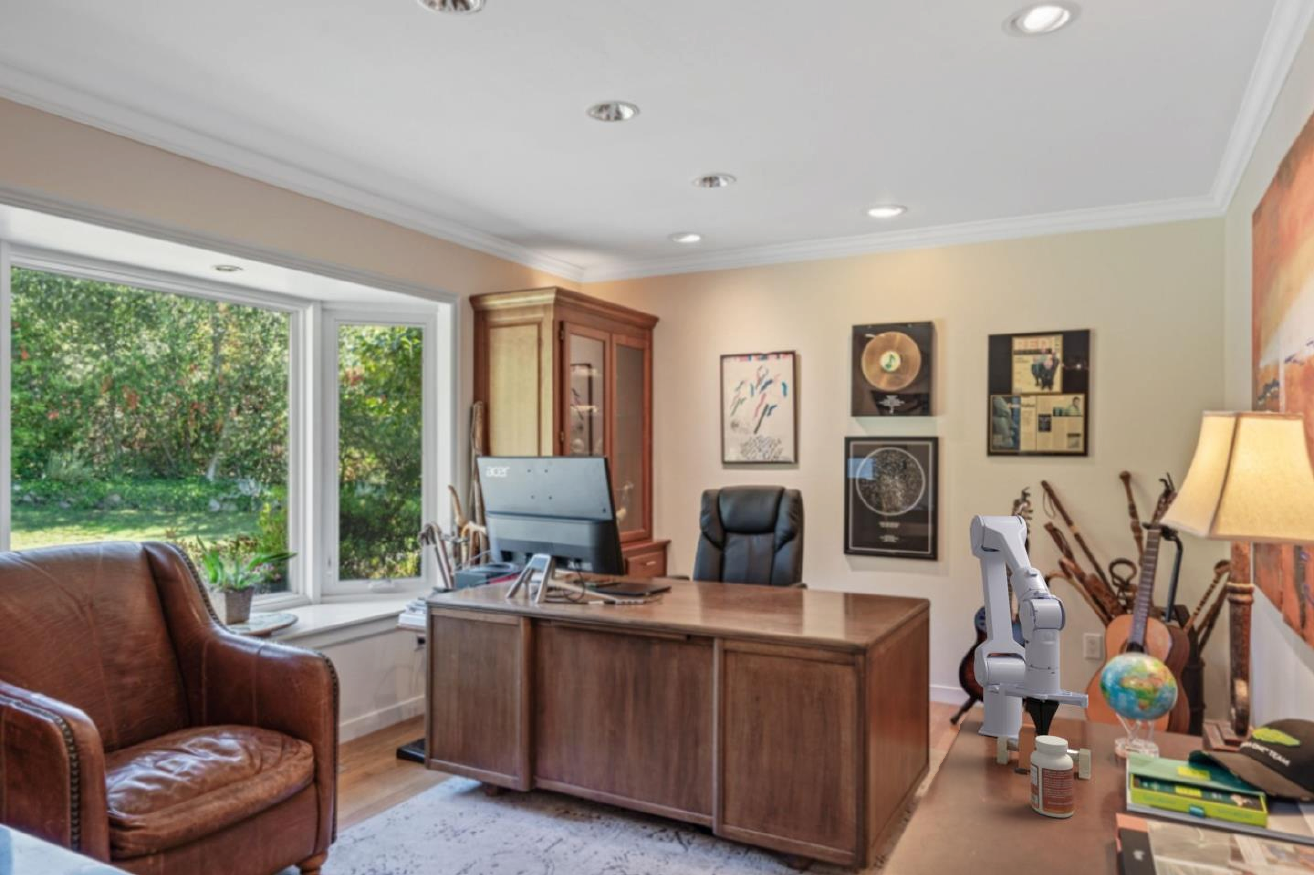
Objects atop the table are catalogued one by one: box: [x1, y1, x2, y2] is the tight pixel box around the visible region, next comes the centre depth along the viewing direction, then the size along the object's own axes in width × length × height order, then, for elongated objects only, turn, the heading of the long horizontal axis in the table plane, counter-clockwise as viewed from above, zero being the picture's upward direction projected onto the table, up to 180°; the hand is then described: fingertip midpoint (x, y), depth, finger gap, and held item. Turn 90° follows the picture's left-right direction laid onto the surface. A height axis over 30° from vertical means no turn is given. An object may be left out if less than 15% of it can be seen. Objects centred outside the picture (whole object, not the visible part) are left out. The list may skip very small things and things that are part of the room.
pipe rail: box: [996, 735, 1092, 781], centre depth 149 cm, size 15×10×4 cm, turn 58°
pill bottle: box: [1030, 735, 1075, 819], centre depth 131 cm, size 6×6×11 cm
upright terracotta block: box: [1018, 722, 1038, 772], centre depth 150 cm, size 2×6×6 cm, turn 148°
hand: (1043, 741), depth 149 cm, fingers closed
